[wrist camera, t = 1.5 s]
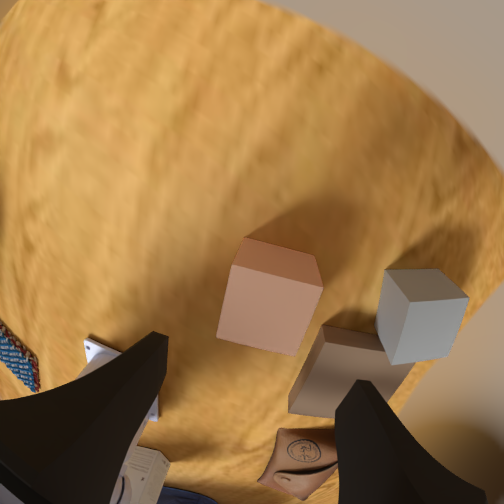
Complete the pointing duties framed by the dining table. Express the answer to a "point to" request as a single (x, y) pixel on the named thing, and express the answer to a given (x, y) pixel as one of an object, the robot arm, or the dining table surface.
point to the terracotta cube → (269, 297)
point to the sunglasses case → (301, 461)
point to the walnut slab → (342, 371)
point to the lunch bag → (181, 497)
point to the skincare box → (146, 474)
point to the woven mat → (18, 360)
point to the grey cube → (418, 314)
